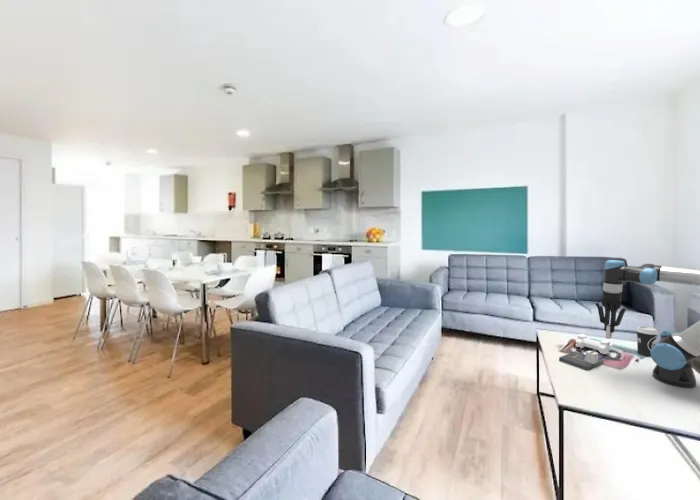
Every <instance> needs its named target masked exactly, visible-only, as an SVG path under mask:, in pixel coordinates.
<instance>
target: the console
mask: <svg viewBox="0 0 700 500" xmlns="http://www.w3.org/2000/svg"><path fill="white" fill-rule="evenodd" d="M586 352H587V351H582V352H579V351H572V352H569V353H567V354H565V355H561V356H559V357H558V362H561V363H564V364H567V365H569V366H572V367H575V368H578V369H581V370H584V371H587V372H588V371H590V370H591V371H592V370H593V369H594V368H597V367H600V366H602V365H603V364H604V359H601V358H598V362H597V363H595V364H592V363H589V362H586V361H585V359H586ZM601 364H602V365H601Z"/></svg>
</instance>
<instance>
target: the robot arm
mask: <svg viewBox="0 0 700 500" xmlns="http://www.w3.org/2000/svg"><path fill="white" fill-rule="evenodd" d="M624 282H628V283H636V284H643V285H655V284H656V282H662V283H671V284H678V285H686V286H695V287H700V269H699V268H697V269H696V268H690V267H689V268H687V267H679V266H678V267H677V266H669V265H658V264H654V263H653V264H652V263H645V264H642V265H640V266H634V265H633V266H632V265H626V264H625V261H623V260H618V259H608V260H606V261H605V264H604V271H603V285H602V290H603V291H602V297H601V298H602V299H601V301H600V302H596V303H595V305H596V307H597V309H598V310H597V313H598V316H599V321H600V323H601V324H603V325H604V326H603V327H604V328H603V330H604V332H605V339H606V340H610V339H612V338H613V334H614V333H615V329H616V328H615V327H618V326H620V324H621V322H622V320H623V317H624V315H625V313H626V312H627V311H628V307H625V306H623V304H622V295H623V294H622V293H623V285H624ZM618 310H619V311H618ZM617 312H618V314H617ZM659 335H660V338H659V339H660V340H658V342H657V343H655V345H654V346H653V347H652V348H651V352H650V354H651V356H650V357H651V359H652V361H653V362H654V363H655V366H654V368H653V369H652V377H653V378H654V379H655V380H657V381H659V382H662V383H664V384H667V385H670V386H674V387H679V388H686V389H689V388H694V387H696V386H697V378H696V375H695V372H694V370H693V363H694V362H693V361H694V359H696V358H698V357H699V356H700V320H698V321H697V322H695V323H693V324H692V325H690V326H689V327H688V328H686V329H684V330H683V331H682V332H678V331H673V330H672V331H671V330H662V331H661V332H660V334H659Z"/></svg>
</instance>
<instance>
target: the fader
mask: <svg viewBox="0 0 700 500" xmlns="http://www.w3.org/2000/svg"><path fill="white" fill-rule="evenodd" d="M585 352H586V359H585V361H586V362H589V363H592V364H595V363H597V362H598V359H599V353H598V352H597V351H595V350H588V351H585Z"/></svg>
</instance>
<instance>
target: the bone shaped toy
mask: <svg viewBox="0 0 700 500" xmlns="http://www.w3.org/2000/svg"><path fill="white" fill-rule="evenodd" d="M575 343H576V347H577V348H578V347H580V348H579V349H583V348H591V349H594V350H598V352H600V353H602V354H606V355H608V354H609V353H610V349H611V341H609V339H603V340H600V341H597V340H594V339H590V338H587V335H586V334H584V333H580V334H578V335H577V337H576V340H575ZM585 346H586V347H585ZM600 353H599V354H600ZM607 353H608V354H607ZM602 354H601V355H602Z"/></svg>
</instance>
